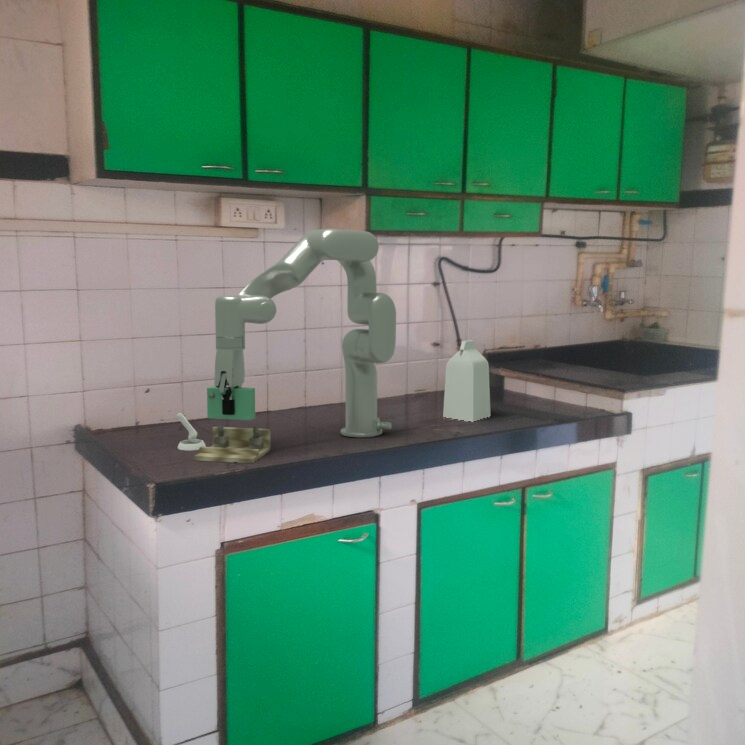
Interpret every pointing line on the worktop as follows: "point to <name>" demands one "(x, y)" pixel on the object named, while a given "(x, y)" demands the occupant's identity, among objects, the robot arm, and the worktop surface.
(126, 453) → the worktop surface
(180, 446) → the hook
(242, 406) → the door
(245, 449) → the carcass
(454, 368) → the milk
